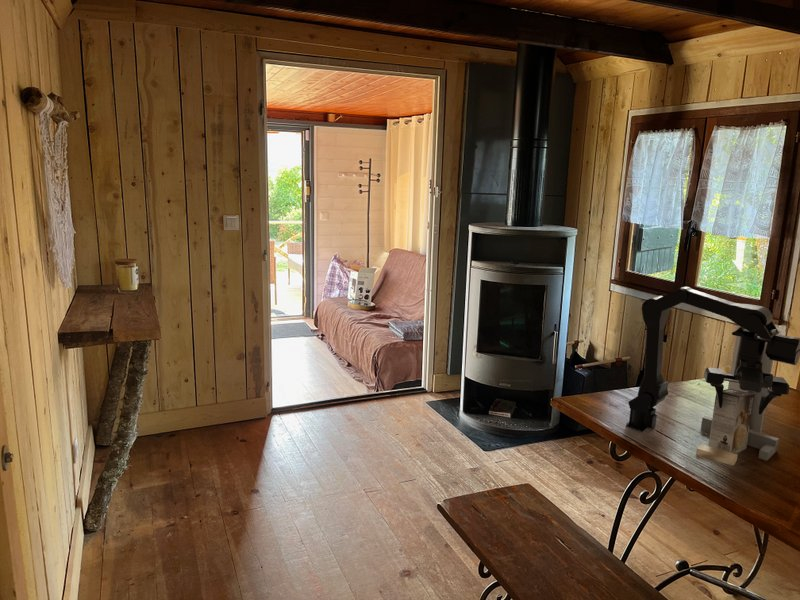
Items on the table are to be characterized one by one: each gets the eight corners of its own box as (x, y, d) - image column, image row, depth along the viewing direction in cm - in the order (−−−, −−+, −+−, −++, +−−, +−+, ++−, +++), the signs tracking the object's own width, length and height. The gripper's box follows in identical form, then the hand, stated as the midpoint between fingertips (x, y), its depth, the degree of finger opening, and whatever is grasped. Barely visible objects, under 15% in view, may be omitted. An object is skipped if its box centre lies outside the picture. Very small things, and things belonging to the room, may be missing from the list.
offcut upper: (695, 454, 155) (696, 448, 155) (699, 449, 158) (700, 443, 158) (733, 465, 150) (734, 459, 149) (736, 460, 152) (737, 454, 152)
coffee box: (722, 443, 165) (731, 388, 163) (746, 451, 159) (756, 393, 158) (707, 447, 159) (715, 390, 158) (731, 455, 154) (740, 396, 153)
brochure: (760, 434, 170) (777, 336, 164) (739, 432, 171) (755, 335, 165) (743, 415, 184) (757, 323, 177) (724, 413, 185) (738, 322, 178)
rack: (691, 439, 167) (693, 423, 165) (702, 431, 172) (705, 415, 171) (766, 464, 153) (769, 447, 152) (775, 455, 158) (778, 438, 157)
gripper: (714, 358, 146) (704, 416, 150) (800, 370, 140) (788, 429, 144) (708, 346, 157) (699, 400, 160) (788, 356, 150) (777, 412, 154)
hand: (739, 410), depth 154 cm, fingers open, 9 cm apart
